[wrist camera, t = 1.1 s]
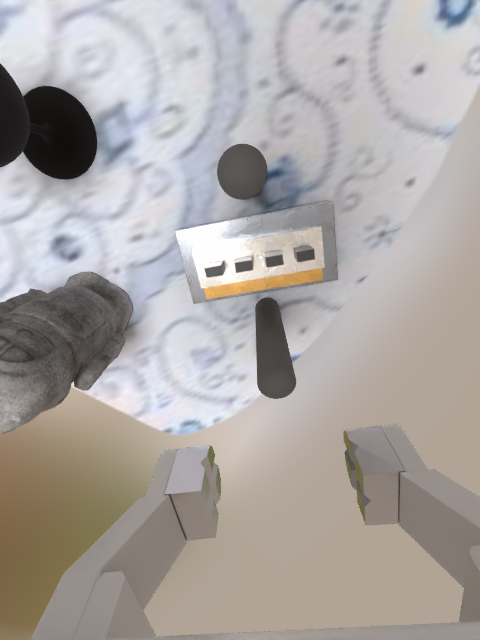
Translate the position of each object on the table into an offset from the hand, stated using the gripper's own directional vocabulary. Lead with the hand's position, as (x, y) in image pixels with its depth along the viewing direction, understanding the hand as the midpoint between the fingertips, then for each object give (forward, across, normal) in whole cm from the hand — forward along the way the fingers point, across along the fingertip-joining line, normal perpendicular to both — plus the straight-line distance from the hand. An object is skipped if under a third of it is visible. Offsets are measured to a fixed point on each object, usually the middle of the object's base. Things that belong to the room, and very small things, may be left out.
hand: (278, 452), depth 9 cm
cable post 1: (+37, 0, -9) cm, 38 cm away
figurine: (+37, +26, +4) cm, 46 cm away
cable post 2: (+37, 0, +9) cm, 38 cm away
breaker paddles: (+31, 0, 0) cm, 31 cm away
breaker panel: (+37, 0, 0) cm, 37 cm away
